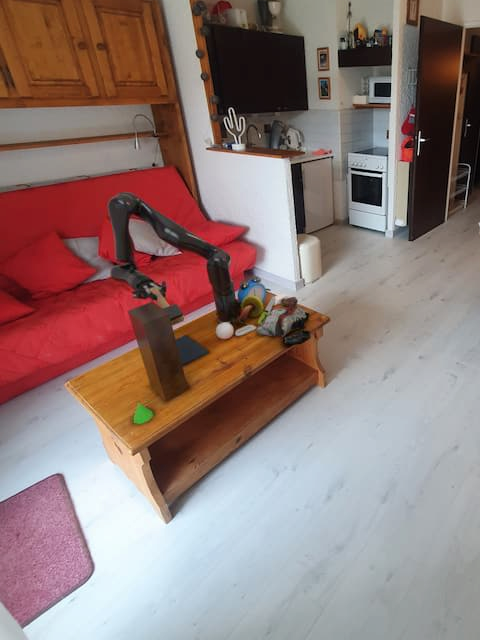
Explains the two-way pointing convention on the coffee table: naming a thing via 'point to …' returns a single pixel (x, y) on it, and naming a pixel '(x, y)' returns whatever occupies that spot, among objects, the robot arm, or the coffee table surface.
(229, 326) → the white egg
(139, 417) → the gemstone
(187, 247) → the robot arm
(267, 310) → the kitchen knife
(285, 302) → the stone
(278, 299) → the toy vehicle
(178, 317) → the brush
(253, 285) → the alarm clock
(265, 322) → the stone
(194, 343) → the mat
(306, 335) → the toy car
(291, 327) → the athletic shoe
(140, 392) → the coffee table surface
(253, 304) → the mushroom
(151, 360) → the tall dark wooden block
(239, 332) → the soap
